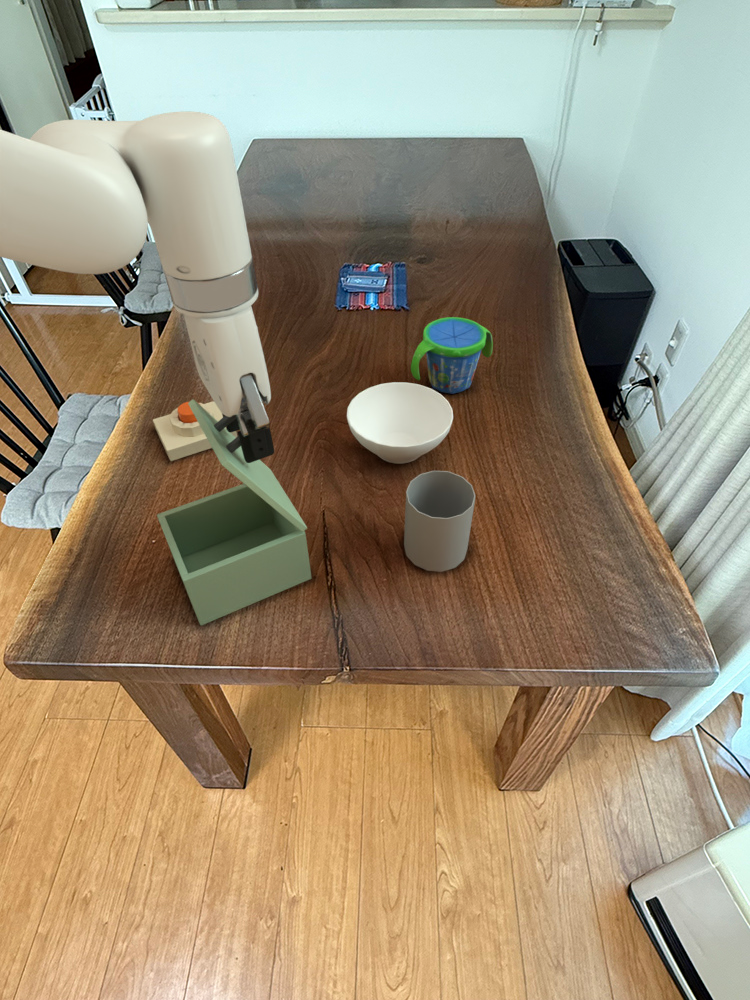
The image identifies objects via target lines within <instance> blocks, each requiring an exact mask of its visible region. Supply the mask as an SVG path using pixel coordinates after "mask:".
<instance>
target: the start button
mask: <svg viewBox="0 0 750 1000" xmlns="http://www.w3.org/2000/svg"><path fill="white" fill-rule="evenodd" d="M189 402H190V401H185V402H183V403H181V404H180V405H179V406H178V407H177V408H178V414H179V417H180V420H181V421H182V422H183V423H194V422H197V419H196V417H195V415H194V414H193V412H192V410H191V408H190V406H189V404H188V403H189ZM197 403H198V404H199V403H200V402H197ZM199 405H200V404H199Z"/></svg>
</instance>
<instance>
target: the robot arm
mask: <svg viewBox="0 0 750 1000" xmlns="http://www.w3.org/2000/svg"><path fill="white" fill-rule="evenodd" d="M237 171H238V170H237V166H236V160H235V154H234V148H233V145H232V140H231V136H230V133H229V130H228V129H227V127H226V126H225V125H224V123H223V122H222V121H221V120H220V119H219V118H218V117H216V116H215V115H212V114H209V113H205V112H200V111H190V110H189V111H186V110H185V111H184V110H183V111H182V110H181V111H171V112H165V113H164V112H163V113H159V114H154V115H152V116H151V115H150V116H148V117H145V118H143V119H140V120H97V119H63V120H57V121H53V122H50V123H48V124H45V125H43V126H42V127H40V128H39V129H37V131H36V132H34V133H33V134H32V136H30V138H27V137H23V136H20V135H18V134H15V133H12V132H9V131H6V130H3V129H0V258H3V259H7V260H11V261H15V262H18V263H24V264H28V265H32V266H36V267H41V268H45V269H49V270H54V271H59V272H64V273H71V274H76V275H77V274H79V275H102V274H108V273H112V272H115V271H119V270H121V269H123V268H124V267H126V266H127V265H129V264H131V262H133V261H134V259H135V258H137V257H138V256H139V254H140V252H141V251H142V248H143V247H144V245H145V242H146V239H147V235H148V227H149V228H150V230H151V233H152V236H153V240H154V243H155V247H156V251H157V254H158V257H159V260H160V265H161V268H162V271H163V275H164V278H165V281H166V284H167V288H168V291H169V295H170V299H171V302H172V305H173V308H174V309H175V310H176V311H177V312H178V313H179V314H181V315H183V318H184V321H185V322H184V323H185V326H186V331H187V334H188V338H189V342H190V347H191V351H192V356H193V360H194V364H195V368H196V371H197V374H198V377H199V379H200V380H201V382H202V383H203V386H204V387H205V389H206V391H207V392H208V394H209V395H210V397H211V399H212V401H214V402H215V403H216V405H217V407H218V408H219V410H220V411H221V413H222V415H223V417H224V416H227V417H232V415H236V419H235V420H234V421H232V422H231V423H230V424H229V425H228V426H226V429H227V431H228V432H234V431H236V432H237V437H238V436H239V440H240V444H241V448H242V452H243V456H244V459H245V461H246V462H247V463H251V462H254V461H257V460H262V459H265V458H267V457H270V456H273V455H274V454H275V447H274V443H273V438H272V431H271V427H270V424H271V423H270V419H269V417H268V414H267V411H266V409H265V405H269V404H270V402H271V399H272V391H271V383H270V380H269V379H270V378H269V374H268V368H267V364H266V358H265V353H264V350H263V345H262V341H261V337H260V333H259V327H258V326H257V322H256V318H255V315H254V310H253V307H252V306H253V304H254V303H255V302H256V301H257V300H258V297H259V287H258V281H257V276H256V271H255V264H254V260H253V259H254V258H253V255H252V249H251V244H250V237H249V231H248V227H247V221H246V215H245V210H244V205H243V198H242V193H241V188H240V183H239V176H238V172H237ZM243 398H245V402H242V403H241V401H242V399H243ZM248 410H249V411H250V414H251V419H248V420H247V421H246V422H245V419H244V416H243V413H242V412H245V411H248Z"/></svg>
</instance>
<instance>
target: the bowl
mask: <svg viewBox="0 0 750 1000" xmlns="http://www.w3.org/2000/svg"><path fill="white" fill-rule="evenodd" d="M453 411H454V410H453V407H452V405H451V404H450V401H449V400H447V398H446V397H444V396H443V395H442V394H441V393H439V392H438V391H437V390H435V389H434V388H430V387H428V386H425V385H421V384H418V383H412V382H407V381H406V382H402V381H401V382H400V381H399V382H398V381H397V382H396V381H394V382H386V383H380V384H377V385H374V386H370V387H368V388H366V389H364V390H363V391H360V392H359V393H358V394H357V395H356V396H354V397H353V398H352V399H351V400H350V403H349V405H348V406H347V409H346V420H347V423H348V427H349V430H350V432H351V434H352V435H353V437H354V438H355V439H356V440H357V441H358V443H359V444H360V445H361V446H362V447H364V448H365V449H367V450H368V451H369V452H371V453H372V454H375V455H376V456H377V457H379V458H380V459H381V460H383V461H385V462H387V463H392V464H398V465H400V464H401V465H402V464H407V463H411V462H414V461H416V460H417V459H419V458H420V457H422V456H423V455H426V454H427V453H429V452H431V451H432V450H434V449H435V448H437V447H438V446H439V445H440V444H441V443H442V442H443V441H444V440H445V438H447V436H448V434H449V433H450V430H451V427H452V424H453V421H454V412H453Z"/></svg>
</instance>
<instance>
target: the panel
mask: <svg viewBox="0 0 750 1000" xmlns="http://www.w3.org/2000/svg"><path fill="white" fill-rule="evenodd" d="M198 403H199V404H200V405H201V406H202V407H203V408H204V409H205V410H206V411H207V412H208V413H209V414H210V415H211V416H213V417H214V418H215V419H216V420H217V421H220V420H221V419H222V418H223V415H222V413H221V411H220V410H219V408H218V407H217V405H216V403H215V402H214V400H212V401H210V402H207V403H202V402H198ZM152 422H153V425H154V428H155V431H156V433H157V435H158V438H159V441H160V442H161V444H162V447H163V448H164V451H165V453H166V455H167V456H168V459H169V462H173V461H177V460H180V459H183V458H186V457H188V456H191V455H194V454H198V453H200V452H204V451H207V450H210V449H213V448H212V446H211V445H210V443H209V441H208V439H207V437H206V435H205V434H204V432H203V430H202V428H201V426H200V425H199V423H198V421H197V422H194V423H183V422H182V421H181V420H180V417H179V414H178V407H176V408H175V409H174V410H172V411H171V413H169V414H165V415H162V416H160V417H155V418H153V419H152ZM225 428H226V427H225ZM230 433H231V434H232V435H233V436H234V437H235V438H236V437H238V431H234V432H230Z"/></svg>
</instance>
